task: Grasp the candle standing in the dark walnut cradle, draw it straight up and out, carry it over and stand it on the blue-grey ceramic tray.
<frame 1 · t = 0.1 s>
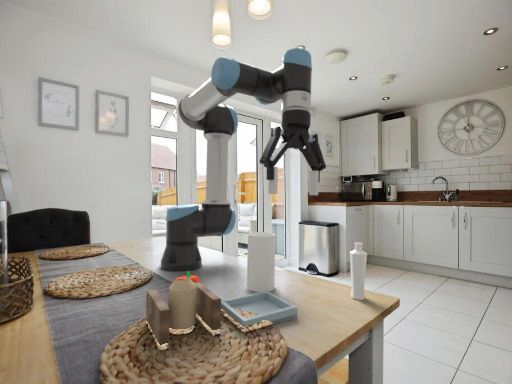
hand: (294, 194, 70), 28 cm above the table, fingers open, 13 cm apart
tomato: (186, 295, 75), on the table
cup: (260, 288, 82), on the table
candle: (181, 329, 56), on the table
perfume bottle: (358, 298, 75), on the table
tray: (256, 314, 63), on the table
cradle: (181, 328, 56), on the table
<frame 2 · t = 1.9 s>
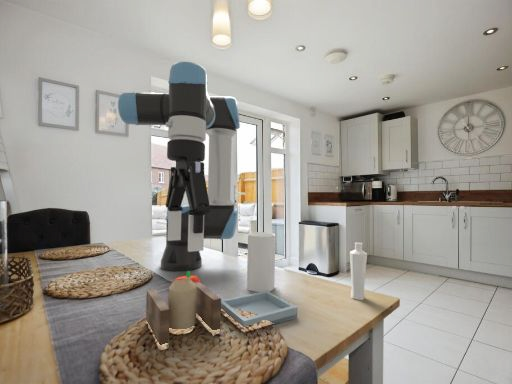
hand: (183, 245, 56), 17 cm above the table, fingers open, 13 cm apart
nothing on the table moved.
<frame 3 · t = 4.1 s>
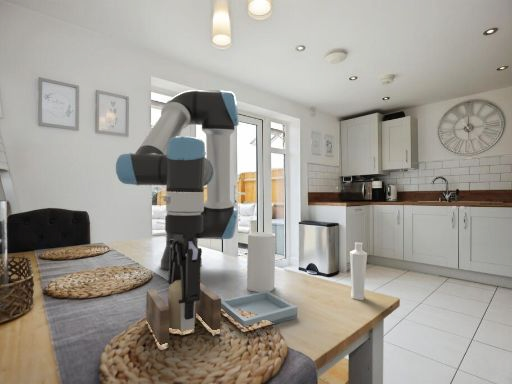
hand: (181, 326, 56), 0 cm above the table, fingers closed on candle, 5 cm apart
candle: (181, 329, 56), on the table, touching gripper
everything else where it was.
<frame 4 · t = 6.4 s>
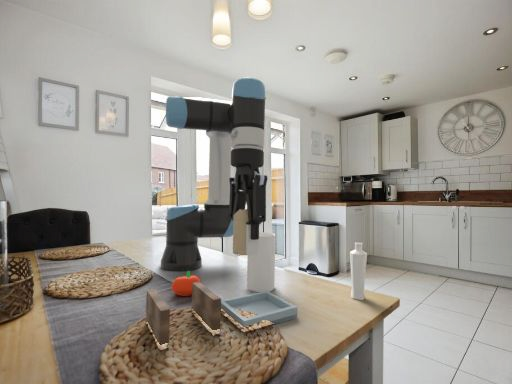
hand: (245, 251, 62), 15 cm above the table, fingers closed on candle, 5 cm apart
candle: (244, 253, 62), point 14 cm above the table, touching gripper
everything else where it was.
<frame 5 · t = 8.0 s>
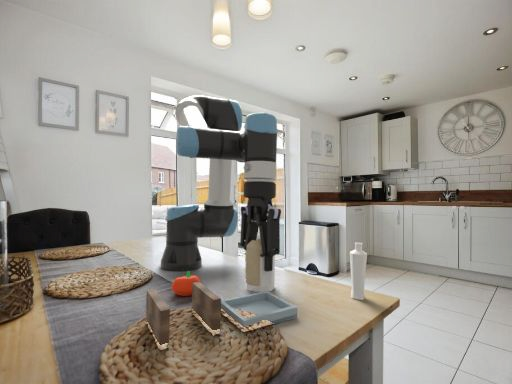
hand: (257, 281, 63), 8 cm above the table, fingers closed on candle, 5 cm apart
candle: (257, 283, 63), point 7 cm above the table, touching gripper
everything else where it was.
when the fingers open (3 cm above the table, at t = 9.2 s): candle drops 1 cm, resting on tray.
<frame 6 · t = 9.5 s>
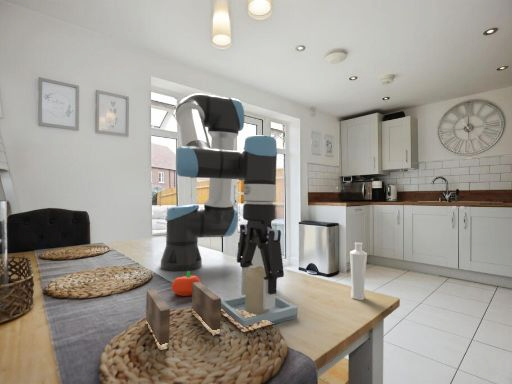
hand: (257, 300, 63), 3 cm above the table, fingers open, 9 cm apart
candle: (257, 311, 63), point 1 cm above the table, touching tray
everything else where it was.
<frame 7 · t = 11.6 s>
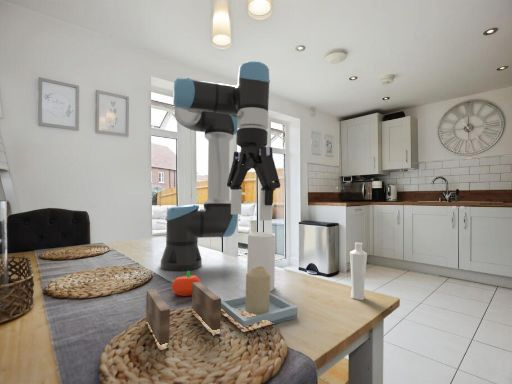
hand: (249, 217, 66), 22 cm above the table, fingers open, 13 cm apart
nothing on the table moved.
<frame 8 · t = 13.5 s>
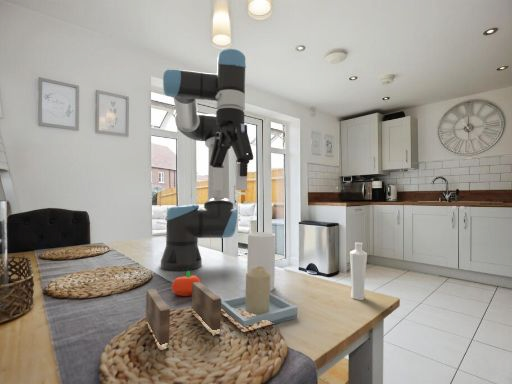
hand: (228, 190, 73), 29 cm above the table, fingers open, 13 cm apart
nothing on the table moved.
at the end: candle inside the target area on the tray (0.1 cm from its centre), point 0.6 cm above the tray's base; candle tilted 0°; the gripper is holding nothing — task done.
